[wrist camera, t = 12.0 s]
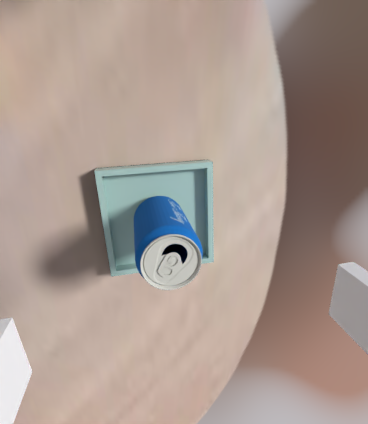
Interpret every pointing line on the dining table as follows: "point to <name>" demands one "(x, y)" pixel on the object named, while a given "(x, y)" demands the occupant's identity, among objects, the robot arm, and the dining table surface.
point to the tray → (149, 187)
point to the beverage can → (165, 244)
